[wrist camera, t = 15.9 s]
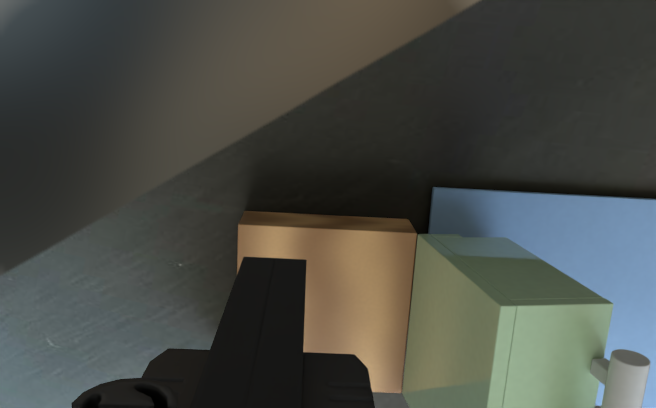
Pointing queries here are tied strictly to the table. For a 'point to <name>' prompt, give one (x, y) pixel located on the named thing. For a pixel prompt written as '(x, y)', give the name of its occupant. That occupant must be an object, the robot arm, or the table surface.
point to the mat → (574, 250)
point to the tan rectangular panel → (345, 282)
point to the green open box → (509, 332)
